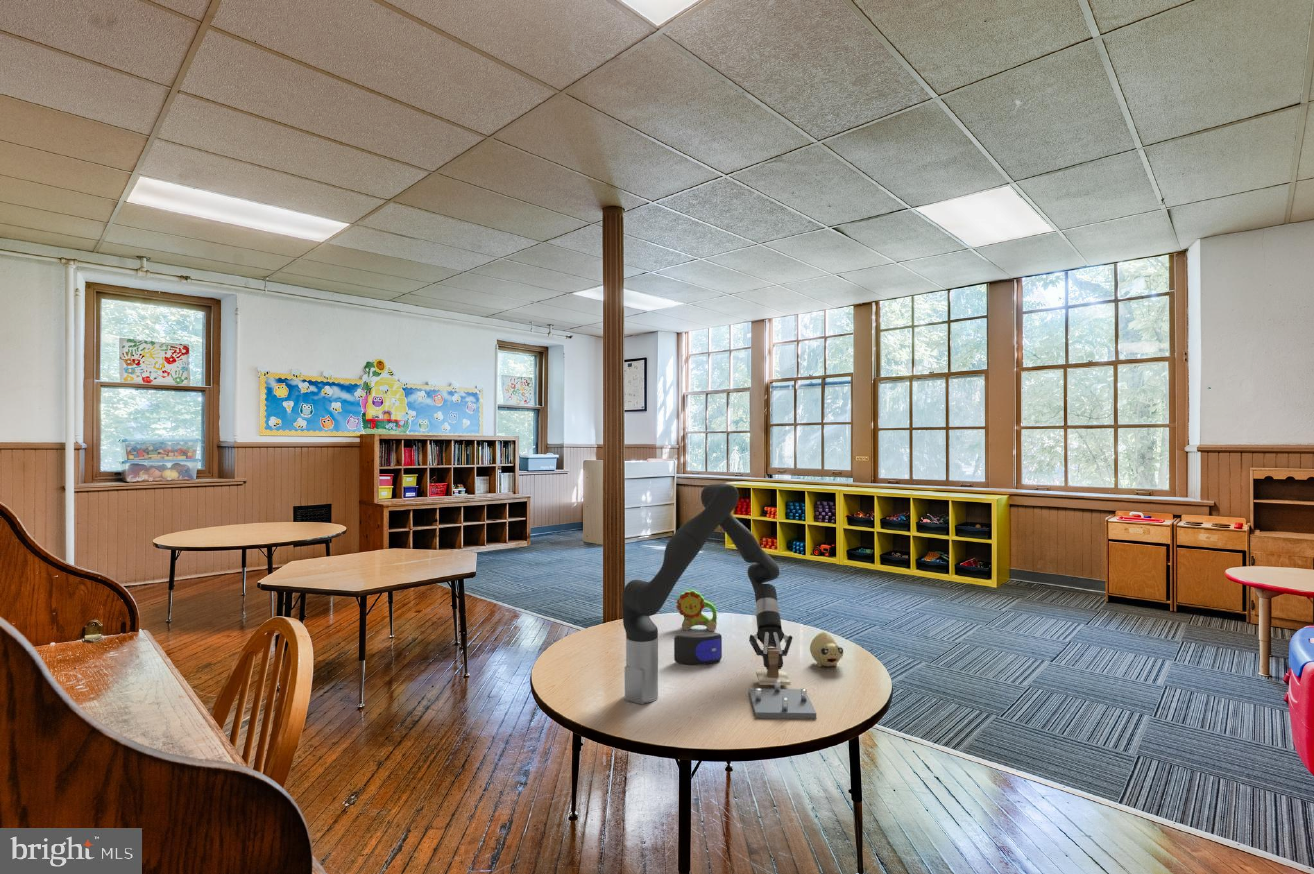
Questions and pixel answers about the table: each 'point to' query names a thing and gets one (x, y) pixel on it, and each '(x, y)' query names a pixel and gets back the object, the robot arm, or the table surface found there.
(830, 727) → the table surface
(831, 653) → the yellow toy animal
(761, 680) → the handled board
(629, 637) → the robot arm
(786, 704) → the standoff pins
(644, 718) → the table surface
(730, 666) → the table surface
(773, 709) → the base board
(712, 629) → the toy lion
